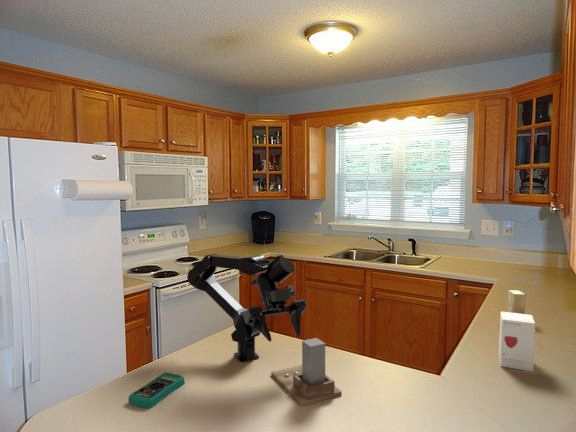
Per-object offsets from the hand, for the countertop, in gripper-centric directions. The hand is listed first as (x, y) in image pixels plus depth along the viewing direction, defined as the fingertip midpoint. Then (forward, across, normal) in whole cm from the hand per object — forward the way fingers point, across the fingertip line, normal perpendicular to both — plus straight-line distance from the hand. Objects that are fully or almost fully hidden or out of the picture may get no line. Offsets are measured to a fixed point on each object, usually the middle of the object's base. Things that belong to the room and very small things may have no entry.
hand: (285, 338), depth 116 cm
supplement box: (+26, +68, -10) cm, 73 cm away
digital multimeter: (+3, -34, +16) cm, 37 cm away
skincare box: (+8, +106, +7) cm, 106 cm away
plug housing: (+15, +3, 0) cm, 15 cm away
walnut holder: (+12, +4, +5) cm, 14 cm away
